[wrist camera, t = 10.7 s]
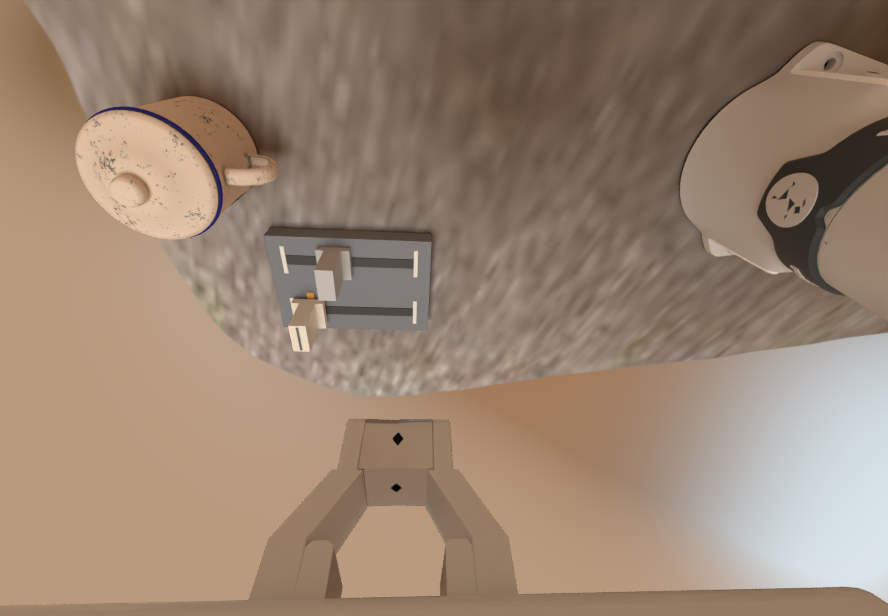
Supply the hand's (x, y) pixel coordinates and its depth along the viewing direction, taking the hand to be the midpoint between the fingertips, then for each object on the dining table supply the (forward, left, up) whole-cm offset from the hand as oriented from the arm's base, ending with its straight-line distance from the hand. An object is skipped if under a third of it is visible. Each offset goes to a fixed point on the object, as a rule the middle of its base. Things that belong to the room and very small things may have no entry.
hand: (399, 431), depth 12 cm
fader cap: (+11, +15, -27) cm, 33 cm away
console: (+6, +12, -29) cm, 32 cm away
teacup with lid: (+17, -1, -29) cm, 34 cm away
